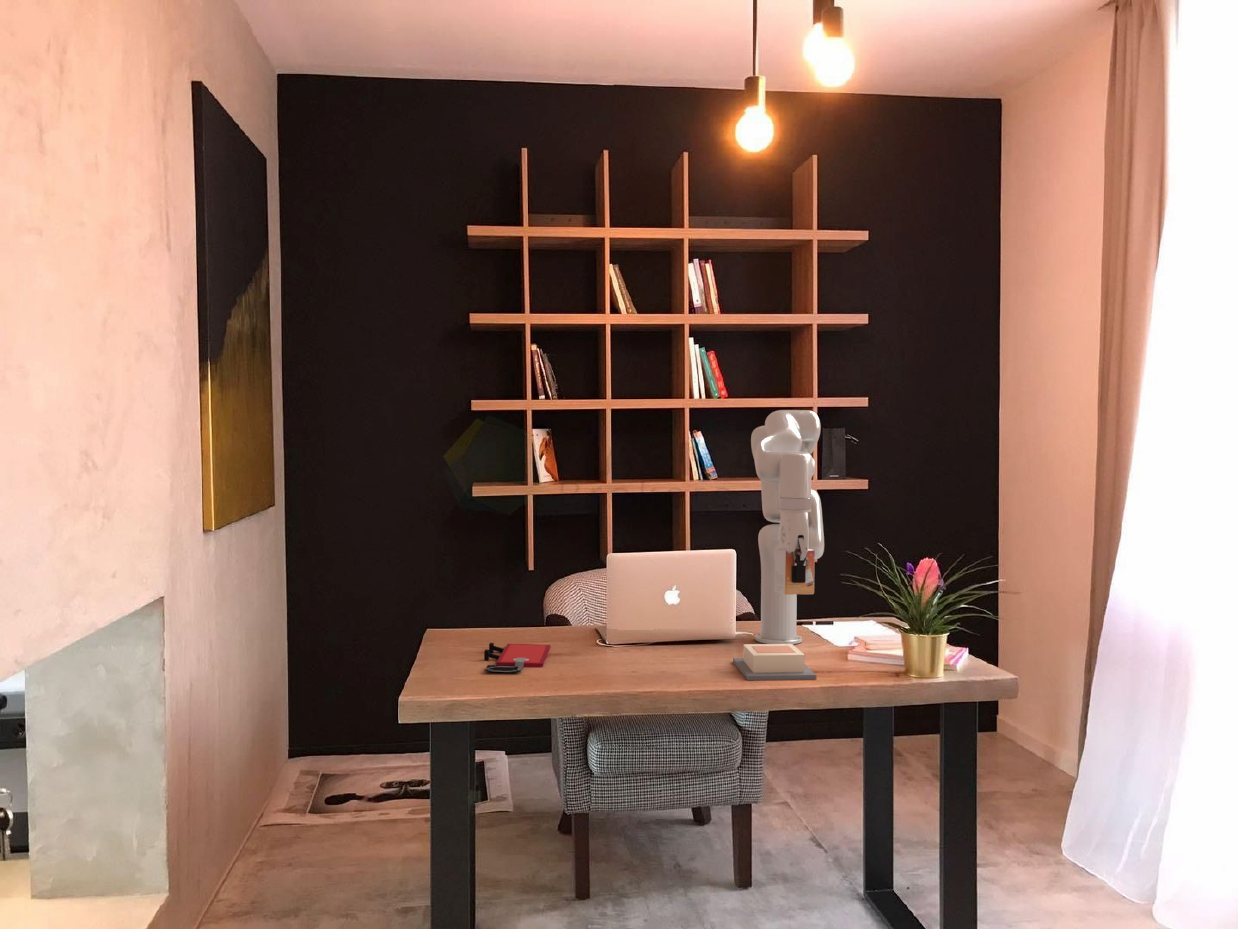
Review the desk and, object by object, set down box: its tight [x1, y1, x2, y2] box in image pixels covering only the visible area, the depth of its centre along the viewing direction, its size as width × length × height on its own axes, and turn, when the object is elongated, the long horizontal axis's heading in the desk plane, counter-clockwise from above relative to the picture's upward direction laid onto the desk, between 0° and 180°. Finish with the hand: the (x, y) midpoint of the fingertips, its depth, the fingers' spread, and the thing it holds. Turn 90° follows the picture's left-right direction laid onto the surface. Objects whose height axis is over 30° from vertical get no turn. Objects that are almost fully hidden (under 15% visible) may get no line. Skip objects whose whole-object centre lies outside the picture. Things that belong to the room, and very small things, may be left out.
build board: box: [732, 643, 817, 681], centre depth 240 cm, size 18×16×5 cm
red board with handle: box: [483, 642, 551, 673], centre depth 250 cm, size 30×3×15 cm
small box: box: [774, 549, 816, 595], centre depth 240 cm, size 8×6×10 cm
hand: (794, 579), depth 240 cm, fingers closed on small box, 6 cm apart
